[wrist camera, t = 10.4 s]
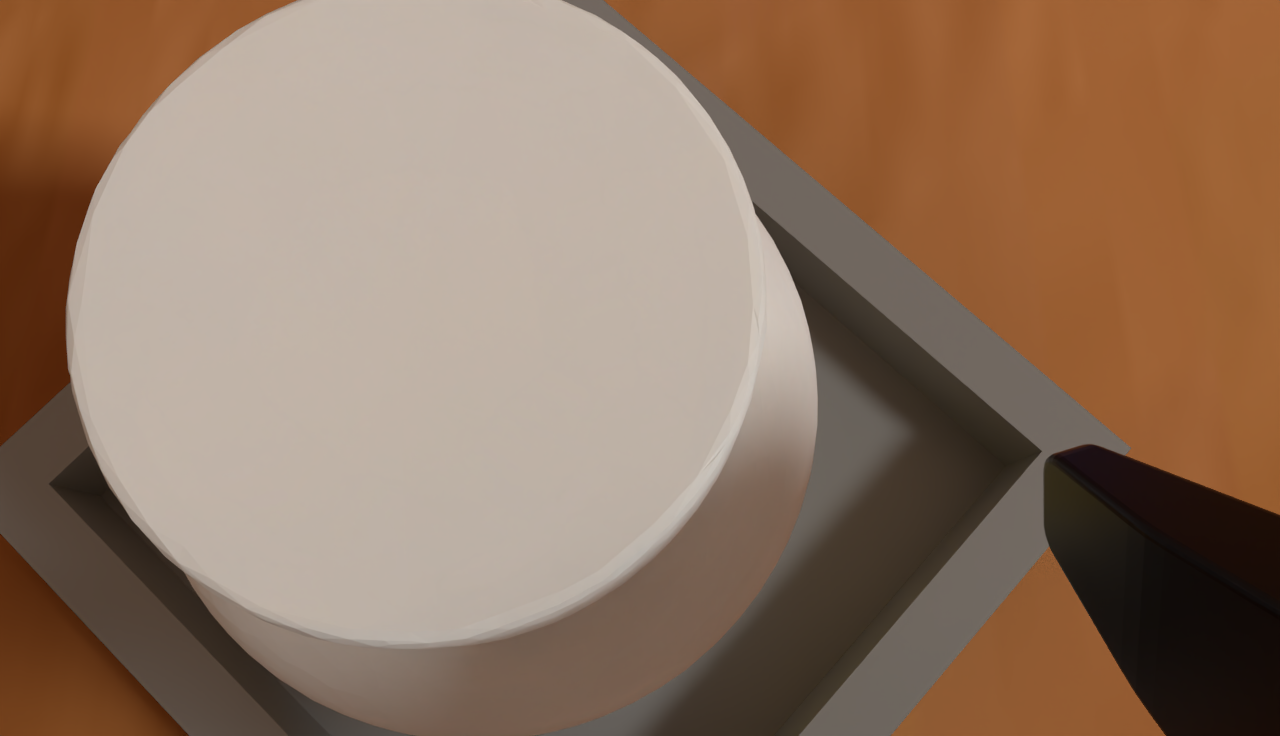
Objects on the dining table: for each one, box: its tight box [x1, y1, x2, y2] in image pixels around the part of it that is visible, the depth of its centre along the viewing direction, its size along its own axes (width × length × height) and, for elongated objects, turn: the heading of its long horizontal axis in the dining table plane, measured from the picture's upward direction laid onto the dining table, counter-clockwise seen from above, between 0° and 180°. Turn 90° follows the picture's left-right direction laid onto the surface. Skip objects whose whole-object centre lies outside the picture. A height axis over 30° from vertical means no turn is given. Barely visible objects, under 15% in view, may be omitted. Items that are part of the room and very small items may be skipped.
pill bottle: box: [66, 0, 818, 736], centre depth 13 cm, size 6×6×12 cm
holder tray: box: [0, 0, 1131, 736], centre depth 18 cm, size 13×13×2 cm
